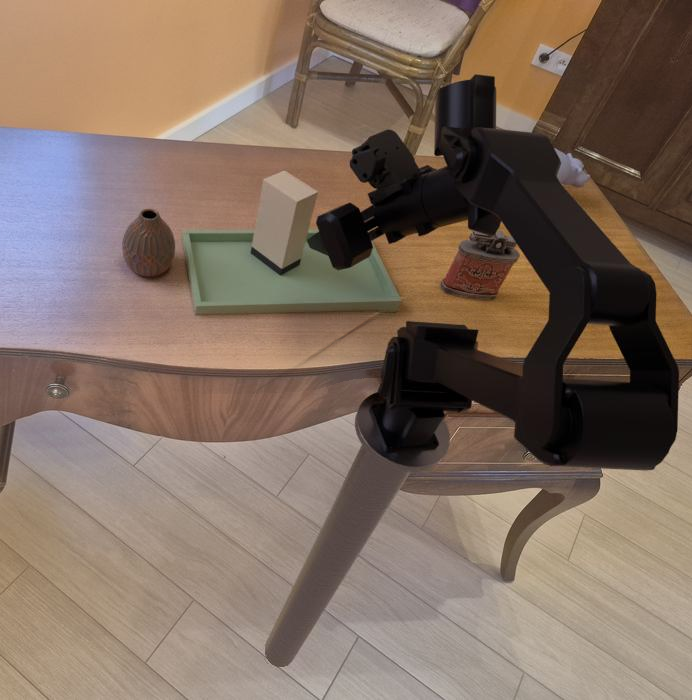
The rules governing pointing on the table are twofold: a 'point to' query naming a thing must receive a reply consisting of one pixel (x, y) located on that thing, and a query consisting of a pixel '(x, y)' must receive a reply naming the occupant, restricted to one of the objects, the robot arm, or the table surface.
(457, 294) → the lighter
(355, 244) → the robot arm
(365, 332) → the table surface
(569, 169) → the hippopotamus toy
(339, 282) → the tray
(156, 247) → the vase
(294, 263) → the eraser
